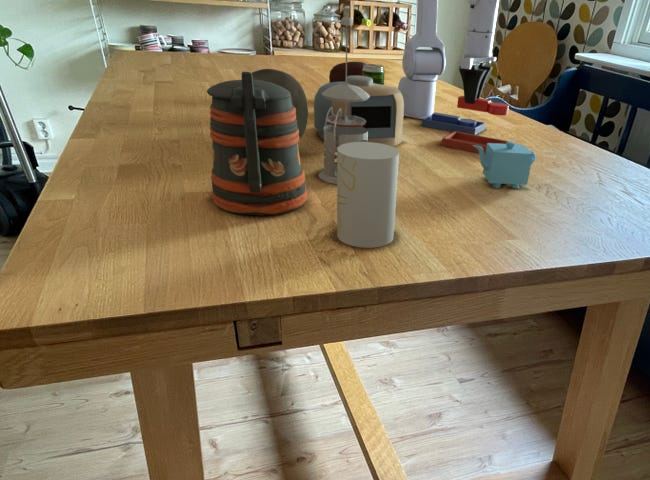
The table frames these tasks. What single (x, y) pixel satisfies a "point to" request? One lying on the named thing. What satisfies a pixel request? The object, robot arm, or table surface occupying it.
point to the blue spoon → (453, 120)
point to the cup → (366, 193)
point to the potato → (340, 71)
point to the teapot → (506, 163)
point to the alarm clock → (366, 110)
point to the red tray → (468, 141)
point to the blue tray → (453, 126)
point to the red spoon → (484, 106)
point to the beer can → (374, 73)
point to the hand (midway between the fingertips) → (471, 102)
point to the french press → (341, 121)
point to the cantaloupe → (293, 87)
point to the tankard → (255, 148)
